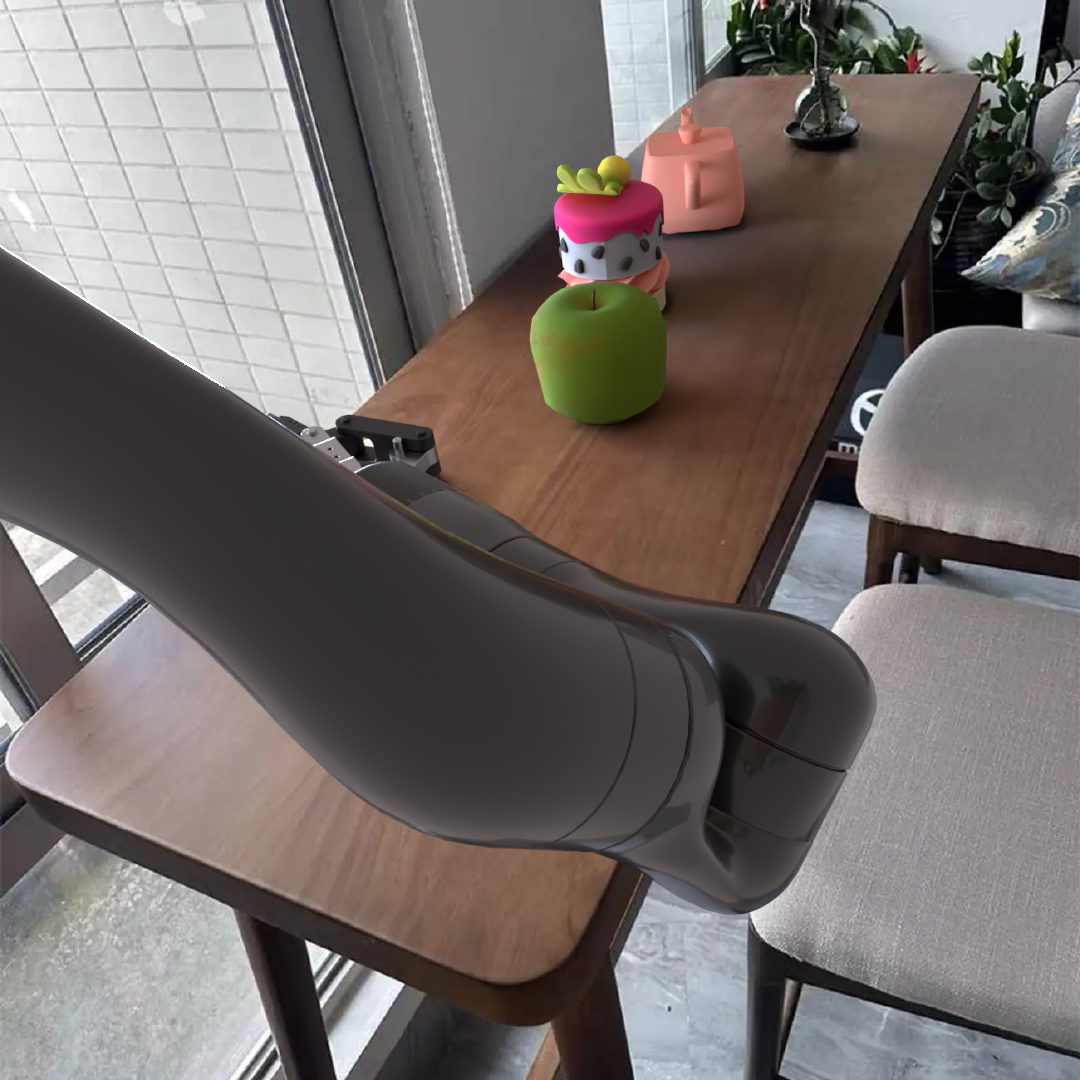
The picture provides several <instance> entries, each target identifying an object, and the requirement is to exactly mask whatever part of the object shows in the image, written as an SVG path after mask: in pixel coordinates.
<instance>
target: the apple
mask: <svg viewBox="0 0 1080 1080" xmlns="http://www.w3.org/2000/svg"><path fill="white" fill-rule="evenodd" d="M530 325H531V326H530V331H529V332H530V333H529V341H530V350H531V354H532V358H533V361H534V364H535V369H536V373H537V376H538V379H539V384H540V387H541V391H542V394H543V399H544V402H545V404H546V405H547V406H548V407H550V409H552V410H554V412H556V413H557V414H559V415H562V416H565V417H567V418H570V419H573V420H575V421H578V422H581V423H583V424H589V425H598V426H602V425H613V424H619V423H621V422H623V421H625V420H628V419H631V418H632V417H634V416H636V415H638V414H639V413H641V412H644V411H646V410H647V409H648V408H649V407H651V406H652V405H653V404H654V403H656V402H657V401H658V400H660V399H661V397H662V394H663V391H664V389H665V387H666V378H667V377H666V375H667V359H668V358H667V357H668V355H667V353H668V352H667V351H668V349H667V348H668V347H667V346H668V328H667V325H666V321H665V319H664V316H663V313H662V311H661V310H660V307H659V305H658V302H657V300H656V298H655V297H653V296H651V295H650V294H648V293H646V292H644V291H642V290H641V289H639V288H636V287H634V286H632V285H630V284H625V283H621V282H616V281H604V282H590V283H581V284H576V285H573V286H569V287H566V286H565V287H563V288H560V289H559V290H557V291H556V292H554V293H553V294H551V295H550V296H548V298H546V300H545V301H544V302H543V303H542V304H541V305H540V307H539V308H538V309H537V311H536V312H535V314H534V315H533V317H532V318H531V324H530Z"/></svg>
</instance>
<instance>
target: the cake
mask: <svg viewBox="0 0 1080 1080" xmlns="http://www.w3.org/2000/svg"><path fill="white" fill-rule="evenodd" d="M631 174H632V170H631V166H630V164H629V162H628V160H627V159H626V158H624V157H623V156H621V155H617V154H614V155H609V156H606V157H605V158H604V159H602V160H601V161H600V164H599V166H598V168H597V171H596V170H595V169H593V168H590V167H582V168H580V169H579V170H578V172H577V173H576V172H575V171H574V169H572V168H571V166H569V165H567V164H560V165H559V166H558V167H557V171H556V177H557V178H558V179H559V180H560V182H562V183H558V184H557V187H556V190H557V192H558V193H563V194H562V195H561V196H560V197H559V198H558V199H557V201H556V202H555V204H554V208H553V213H554V223H555V224H554V225H555V231H558V234H559V243H560V246H559V247H558V252H559V257H560V258H561V259H562V260H561V261H562V268H564V269H563V270H562V271H561V272H560V273H559V274H558V275H557V277H558V278H560V279H562V280H564V282H565V283H567V284H566V286H565V288H566V287H569V286H573V285H576V284H581V283H590V282H604V281H616V282H621V283H625V284H630V285H632V286H634V287H636V288H639V289H641V290H642V291H644V292H646V293H648V294H650V295H651V296H653V297H655V298H656V300H657V302H658V305H659V307H660V310H661V312H662V311H663V310H664V308H665V307H666V304H667V299H666V298H667V297H666V281H667V279H668V277H669V273H670V269H671V263H670V260H669V258H668V255H667V253H666V251H665V250H664V239H663V233H662V225H664V206H663V197H662V194H661V192H660V191H659V190H658V189H657V188H656V187H655V186H653V185H651V184H649V183H646V182H643V181H641V180H639V179H633V178H632V179H631Z"/></svg>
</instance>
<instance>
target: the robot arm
mask: <svg viewBox="0 0 1080 1080" xmlns="http://www.w3.org/2000/svg"><path fill="white" fill-rule="evenodd" d="M334 425H335V426H334V427H331V428H328V429H324V427H322V426H318V425H314V426H308V425H306V424H304V423H302V422H299V421H298V420H297V419H295V418H293V417H290V416H288V415H287V416H286V415H279V416H277V415H276V414H273V413H272V412H267V413H264V412H263V411H261V410H260V409H258V408H257V407H256V406H254V405H252V404H251V403H250V402H248V401H247V400H245V399H243V398H242V397H241V396H239V395H238V394H236V393H234V392H233V391H232V390H230V389H229V388H227V387H225V386H224V385H223V384H221V383H219V382H218V381H216V380H214V378H211V377H210V376H208V375H206V374H205V373H203V372H202V371H200V370H198V369H197V368H196V367H194V366H192V365H191V364H189V363H187V362H186V361H184V360H182V359H180V358H179V357H178V356H177V355H175V354H172V353H171V352H169V351H168V350H166V348H165V349H164V348H163V347H161V346H160V345H158V344H157V343H155V342H153V341H152V340H150V339H149V338H147V337H145V336H144V335H142V334H140V333H139V332H138V331H136V330H134V329H133V328H131V327H129V326H128V325H127V324H125V323H123V322H122V321H120V320H118V319H117V318H115V317H114V316H112V315H110V314H109V313H108V312H106V311H105V310H103V309H101V308H100V307H98V306H97V305H95V304H93V303H92V302H90V301H89V300H87V299H86V298H84V297H82V296H81V295H79V294H77V293H76V292H75V291H73V290H72V289H70V288H68V287H67V286H65V285H63V284H62V283H60V282H59V281H57V280H56V279H54V278H53V277H51V276H49V275H48V274H46V273H44V272H42V271H41V270H39V269H38V268H36V267H35V266H34V265H32V264H30V263H28V262H27V261H26V260H23V259H22V258H21V257H19V256H18V255H16V254H14V253H13V252H11V251H9V250H8V249H6V248H5V247H3V246H1V245H0V520H2V521H5V522H7V523H10V524H13V525H15V526H17V527H20V528H22V529H23V530H25V531H29V532H30V533H33V534H34V535H36V536H39V537H41V538H43V539H45V540H46V541H49V542H51V543H54V544H56V545H57V546H60V547H61V548H63V549H65V550H67V551H69V552H71V553H72V554H73V555H76V556H78V557H79V558H81V559H83V560H85V561H87V562H88V563H89V564H92V565H93V566H95V567H96V568H98V569H101V570H102V571H103V572H105V573H106V574H108V575H109V576H110V577H112V578H114V579H115V580H117V581H118V582H119V583H120V584H122V585H124V586H125V587H127V588H128V589H130V590H131V591H133V592H134V593H135V594H137V595H138V596H139V597H140V598H141V599H143V600H144V601H145V602H146V603H148V604H149V605H151V607H153V608H154V609H155V610H156V611H157V612H159V613H160V614H161V615H162V616H164V618H166V619H167V620H168V621H170V622H171V623H172V624H174V626H175V627H177V628H178V629H179V630H180V631H182V632H183V633H184V634H185V635H187V636H188V637H189V639H192V640H193V641H194V642H195V643H196V644H197V646H199V647H200V648H201V649H202V650H204V652H205V653H207V654H208V655H209V656H210V657H211V658H212V660H214V661H215V662H216V663H217V664H218V665H219V666H220V667H221V668H222V669H223V670H224V671H225V672H226V673H227V674H228V675H229V676H230V677H232V678H233V680H235V682H236V683H238V684H239V685H240V687H242V688H243V690H244V691H246V693H247V694H248V695H249V696H250V697H251V698H252V699H253V700H254V702H256V703H257V704H258V705H259V706H260V707H261V708H262V709H263V710H264V711H265V712H266V713H267V715H268V716H270V717H271V718H272V720H273V721H274V722H275V723H276V724H277V725H278V726H279V727H280V728H281V729H282V730H283V731H284V732H285V733H286V734H287V735H288V736H289V737H290V738H291V739H292V740H294V742H295V743H296V744H297V745H298V746H300V747H301V749H303V751H304V752H306V754H308V755H309V757H311V759H313V760H314V761H315V762H316V763H317V764H318V765H319V766H320V767H321V768H322V769H323V770H324V771H326V772H327V773H328V774H329V775H330V776H332V777H333V778H334V779H335V780H336V781H338V782H339V783H340V784H341V785H342V786H343V787H344V788H346V789H347V790H349V792H351V793H352V794H353V795H354V796H356V797H357V798H358V799H359V800H361V801H363V802H364V803H365V804H367V805H369V806H370V807H372V808H373V809H374V810H376V811H377V812H379V813H381V814H382V815H384V816H386V817H388V818H390V819H392V820H394V821H395V822H398V823H400V824H402V825H404V826H406V827H409V828H410V829H413V830H414V831H416V832H419V833H421V834H423V835H427V836H430V837H432V838H436V839H438V840H442V841H445V842H449V843H455V844H462V845H468V846H475V847H481V848H488V849H500V850H501V849H503V850H527V851H529V850H531V851H549V852H550V851H551V852H569V853H570V852H571V853H572V852H578V853H592V854H595V855H598V856H602V857H605V858H607V859H610V860H613V861H616V862H618V863H621V864H623V865H624V866H627V867H629V868H632V869H633V870H637V871H638V872H640V873H641V874H643V875H644V876H646V877H647V878H649V879H650V880H651V881H653V882H654V883H656V884H657V885H659V886H660V887H662V888H663V889H665V891H668V892H669V893H671V894H673V895H674V896H676V897H678V898H679V899H681V900H683V901H685V902H687V903H690V904H692V905H694V906H696V907H698V908H700V909H703V910H705V911H708V912H712V913H716V914H720V915H727V916H739V915H740V916H741V915H745V914H746V915H747V914H750V913H752V912H755V911H757V910H760V909H762V908H764V907H765V906H767V905H769V904H770V903H771V902H773V901H774V900H776V899H777V898H778V897H780V895H782V894H783V893H784V892H785V891H786V890H787V889H788V887H789V886H790V885H791V884H792V882H793V881H794V879H796V877H797V875H798V874H799V871H800V869H801V868H802V867H803V864H804V862H805V860H806V858H807V856H808V854H809V852H810V851H811V848H812V846H813V844H814V841H815V840H816V837H817V835H818V833H819V831H820V829H821V828H822V826H823V823H824V821H825V820H826V818H827V816H828V814H829V812H830V810H831V808H832V805H833V803H834V802H835V800H836V798H837V796H838V794H839V793H840V790H841V788H842V786H843V785H844V782H845V780H846V778H847V776H848V771H847V770H850V769H852V766H853V764H854V762H855V760H856V758H857V756H858V754H859V752H860V751H861V748H862V747H863V744H864V743H865V741H866V738H867V737H868V734H869V732H870V730H871V728H872V726H873V721H874V719H875V715H876V712H877V705H878V700H877V699H878V698H877V691H876V688H875V684H874V683H875V682H874V680H873V679H872V676H871V674H870V672H869V670H868V667H867V666H866V665H865V663H864V662H863V660H862V659H861V658H860V656H859V655H858V653H857V652H856V651H855V650H854V649H853V648H852V646H850V645H849V644H848V643H847V642H846V641H845V640H844V639H843V638H842V637H841V636H839V635H838V634H836V633H835V632H834V631H832V630H830V629H828V628H827V627H825V626H823V625H822V624H819V623H817V622H815V621H813V620H810V619H808V618H805V617H802V616H799V615H797V614H793V613H789V612H784V611H780V610H776V609H771V608H767V607H766V608H765V607H763V606H762V607H761V606H756V605H748V604H742V603H735V602H727V601H721V600H713V599H704V598H699V597H693V596H688V595H681V594H676V593H671V592H667V591H663V590H659V589H654V588H651V587H647V586H644V585H640V584H637V583H634V582H632V581H629V580H626V579H624V578H621V577H619V576H616V575H613V574H611V573H610V572H607V571H605V570H603V569H600V568H598V567H597V566H594V565H592V564H591V563H588V562H586V561H585V560H582V559H580V558H578V557H577V556H575V555H573V554H571V553H569V552H568V551H565V550H563V549H561V548H559V547H558V546H555V545H554V544H552V543H551V542H547V541H546V540H544V539H542V538H540V537H539V536H537V535H535V534H534V533H533V532H532V531H530V530H529V529H528V528H526V527H525V526H524V525H522V524H521V523H520V522H519V521H517V520H515V519H514V518H512V517H511V516H509V515H508V514H506V513H504V512H503V511H501V510H499V509H497V508H495V507H493V506H491V505H490V504H488V503H485V502H483V501H481V500H480V499H478V498H476V497H474V496H472V495H469V494H468V493H466V492H464V491H462V490H460V489H458V488H456V487H454V486H452V485H450V484H448V483H446V482H444V481H442V480H440V479H439V478H437V476H439V475H440V474H441V473H442V466H441V461H440V458H439V453H438V448H437V443H436V439H435V434H434V430H433V429H432V428H430V427H429V426H422V425H415V424H410V423H405V422H398V421H392V420H387V419H382V418H381V419H380V418H375V417H370V416H369V417H368V416H363V415H356V414H344V415H341V416H339V417H337V419H336V420H335V421H334ZM365 439H369V440H371V442H372V443H373V447H370V446H365V444H364V440H365ZM435 476H436V478H435Z"/></svg>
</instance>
